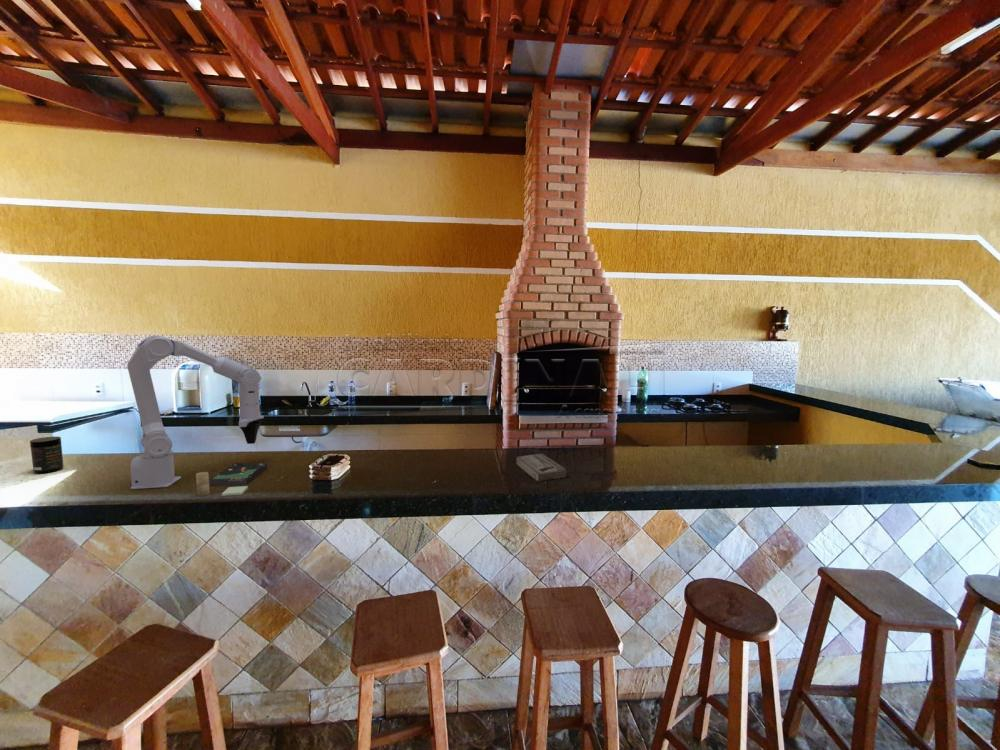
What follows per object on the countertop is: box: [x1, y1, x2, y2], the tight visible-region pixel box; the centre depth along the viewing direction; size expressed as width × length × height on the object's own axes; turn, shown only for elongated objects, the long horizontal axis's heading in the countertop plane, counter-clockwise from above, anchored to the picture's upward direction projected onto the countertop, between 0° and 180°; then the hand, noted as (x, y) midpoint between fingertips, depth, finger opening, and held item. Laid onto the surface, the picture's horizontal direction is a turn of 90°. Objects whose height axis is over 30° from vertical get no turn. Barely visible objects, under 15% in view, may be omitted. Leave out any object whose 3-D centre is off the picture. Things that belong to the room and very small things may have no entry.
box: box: [516, 452, 568, 482], centre depth 141 cm, size 11×17×3 cm, turn 22°
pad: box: [221, 485, 249, 497], centre depth 119 cm, size 5×5×1 cm
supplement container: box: [29, 436, 65, 475], centre depth 133 cm, size 7×7×10 cm
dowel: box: [195, 471, 210, 497], centre depth 117 cm, size 3×3×6 cm
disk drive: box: [209, 462, 268, 487], centre depth 131 cm, size 10×3×15 cm
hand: (251, 443), depth 141 cm, fingers closed
